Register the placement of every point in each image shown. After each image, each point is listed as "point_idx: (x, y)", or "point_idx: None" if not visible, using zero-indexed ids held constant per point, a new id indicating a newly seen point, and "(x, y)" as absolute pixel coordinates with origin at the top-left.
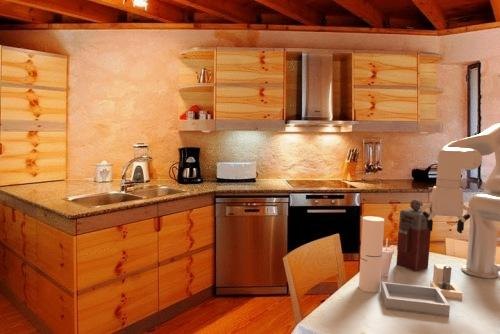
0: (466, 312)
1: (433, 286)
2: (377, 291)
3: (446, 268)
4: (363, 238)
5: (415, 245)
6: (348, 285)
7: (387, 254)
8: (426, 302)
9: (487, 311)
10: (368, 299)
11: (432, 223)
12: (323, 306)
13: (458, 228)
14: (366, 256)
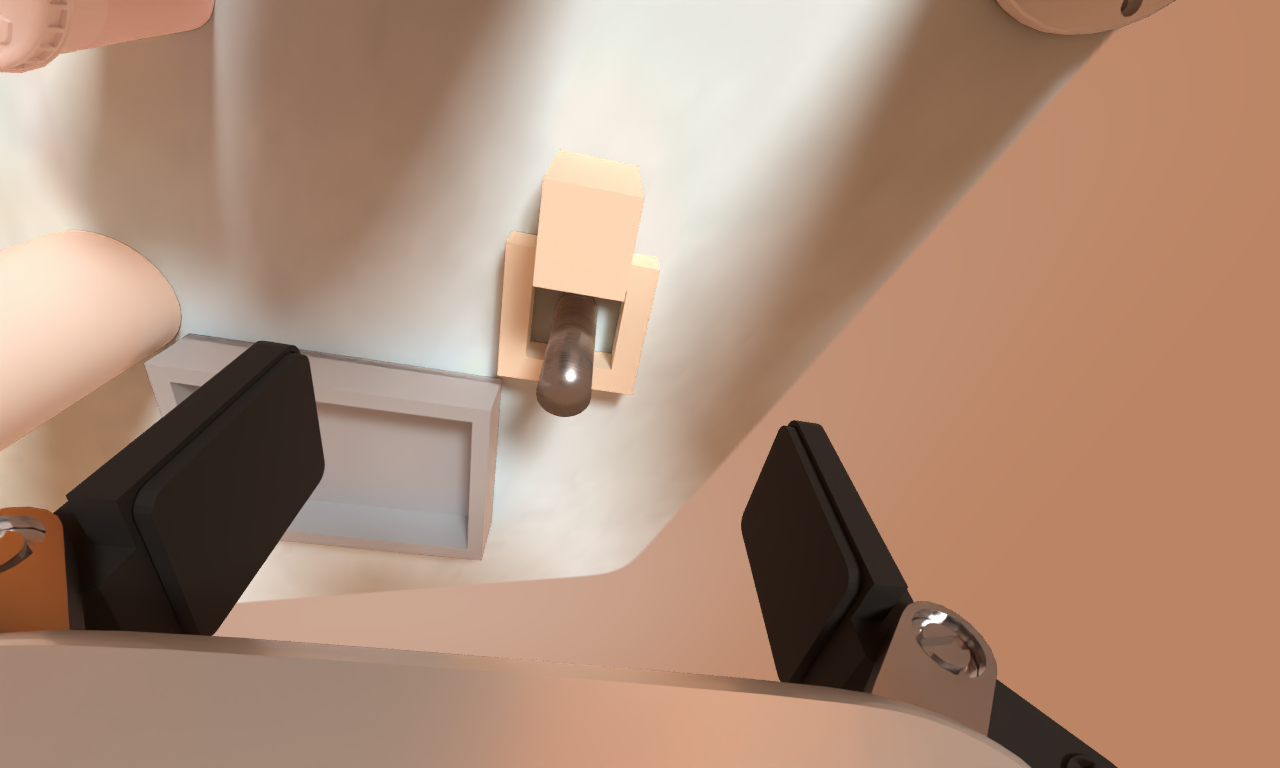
0: (581, 488)
1: (502, 314)
2: (167, 342)
3: (548, 410)
4: None
5: None
6: None
7: (10, 72)
8: (384, 547)
9: (679, 473)
10: (137, 424)
11: (239, 590)
12: None
13: (772, 522)
14: None
